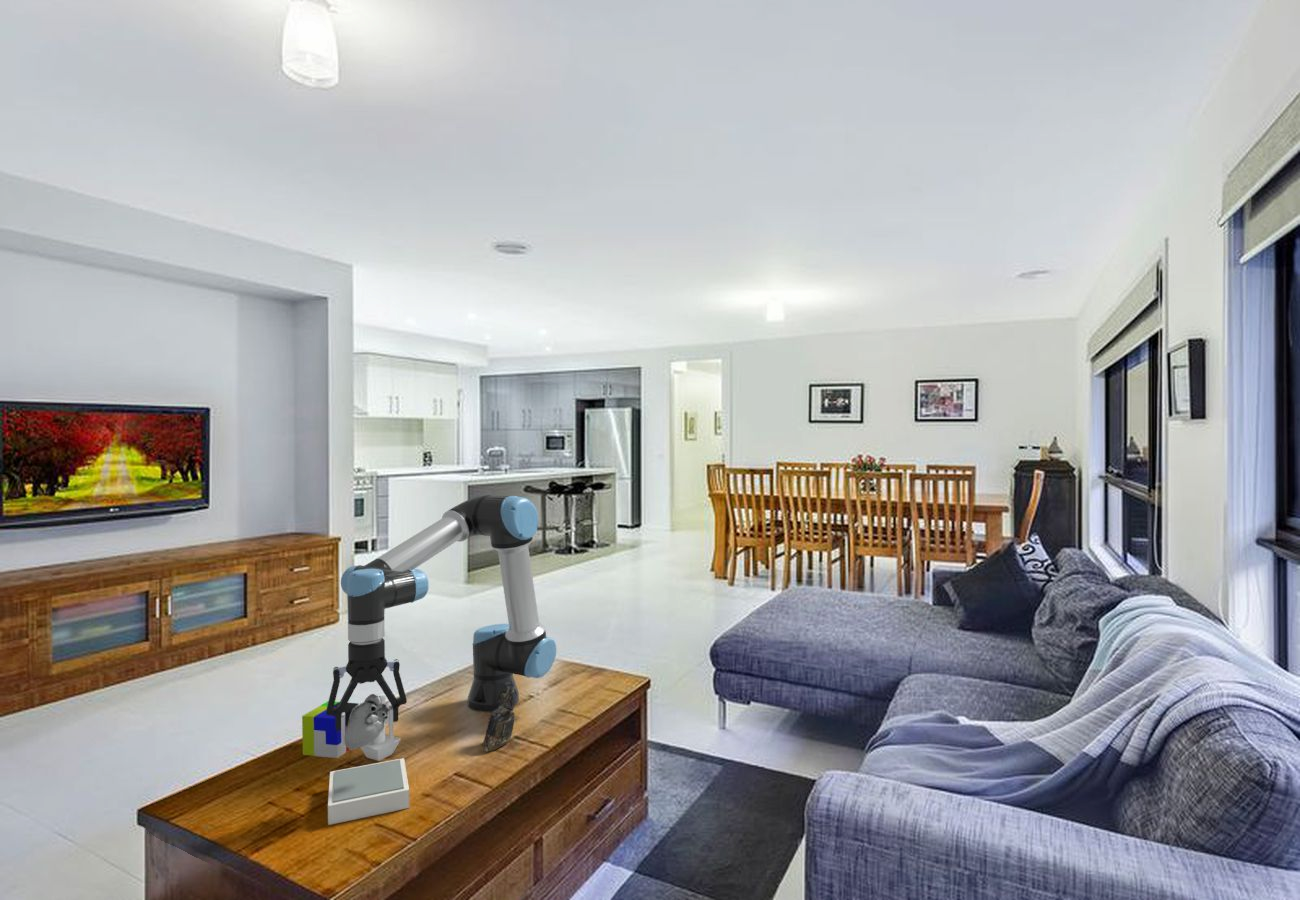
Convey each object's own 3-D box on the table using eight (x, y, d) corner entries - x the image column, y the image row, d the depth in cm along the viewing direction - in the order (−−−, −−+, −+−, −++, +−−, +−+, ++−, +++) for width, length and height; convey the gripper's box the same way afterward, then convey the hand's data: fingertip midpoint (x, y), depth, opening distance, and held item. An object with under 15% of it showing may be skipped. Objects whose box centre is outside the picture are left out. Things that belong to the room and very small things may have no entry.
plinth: (404, 774, 163) (404, 756, 163) (409, 807, 148) (409, 788, 148) (330, 788, 156) (330, 770, 156) (328, 825, 142) (327, 804, 142)
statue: (475, 751, 175) (475, 693, 174) (504, 733, 185) (504, 678, 185) (493, 755, 172) (492, 696, 172) (521, 736, 183) (521, 681, 183)
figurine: (378, 745, 178) (377, 689, 178) (404, 753, 174) (403, 695, 173) (355, 757, 172) (354, 698, 171) (381, 765, 167) (380, 705, 167)
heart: (370, 729, 159) (362, 681, 157) (400, 737, 155) (392, 688, 153) (333, 754, 150) (324, 704, 148) (363, 763, 146) (354, 712, 144)
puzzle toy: (337, 758, 172) (337, 719, 171) (302, 754, 174) (302, 716, 173) (362, 740, 181) (361, 703, 181) (328, 737, 183) (328, 701, 183)
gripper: (416, 629, 159) (417, 725, 160) (312, 641, 151) (313, 742, 151) (419, 638, 153) (420, 737, 153) (310, 650, 144) (312, 756, 144)
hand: (367, 740), depth 152 cm, fingers closed on heart, 9 cm apart
